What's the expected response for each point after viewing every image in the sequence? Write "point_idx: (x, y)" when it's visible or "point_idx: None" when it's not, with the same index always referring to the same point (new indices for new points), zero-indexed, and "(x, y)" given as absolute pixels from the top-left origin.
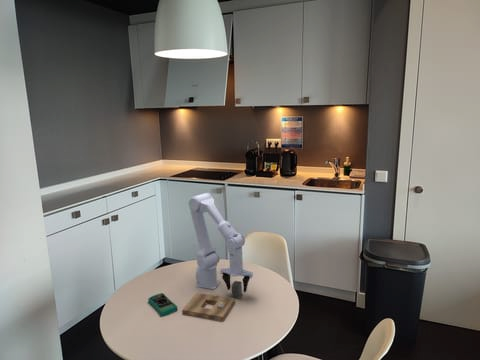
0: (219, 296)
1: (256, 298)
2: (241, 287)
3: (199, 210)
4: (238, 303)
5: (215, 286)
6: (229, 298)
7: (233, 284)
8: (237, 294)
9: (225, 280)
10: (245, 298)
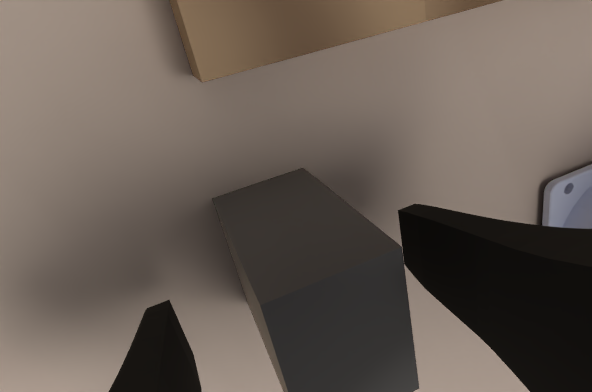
0: (443, 13)
1: (3, 346)
2: (270, 358)
3: None
4: (135, 96)
5: (550, 224)
6: (281, 43)
7: (385, 294)
8: (242, 216)
9: (589, 243)
10: (138, 256)
